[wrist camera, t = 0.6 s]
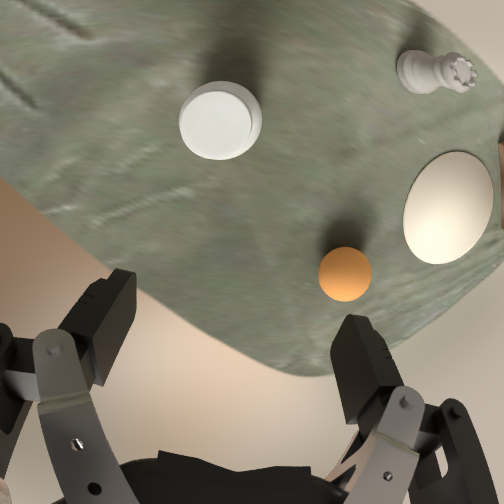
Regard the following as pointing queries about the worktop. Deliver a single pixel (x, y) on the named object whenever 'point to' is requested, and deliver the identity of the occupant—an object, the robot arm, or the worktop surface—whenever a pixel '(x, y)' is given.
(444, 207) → the disc
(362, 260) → the egg
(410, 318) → the worktop surface
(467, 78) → the rook chess piece
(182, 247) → the worktop surface
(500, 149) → the rail
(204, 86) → the supplement bottle
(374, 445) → the robot arm
